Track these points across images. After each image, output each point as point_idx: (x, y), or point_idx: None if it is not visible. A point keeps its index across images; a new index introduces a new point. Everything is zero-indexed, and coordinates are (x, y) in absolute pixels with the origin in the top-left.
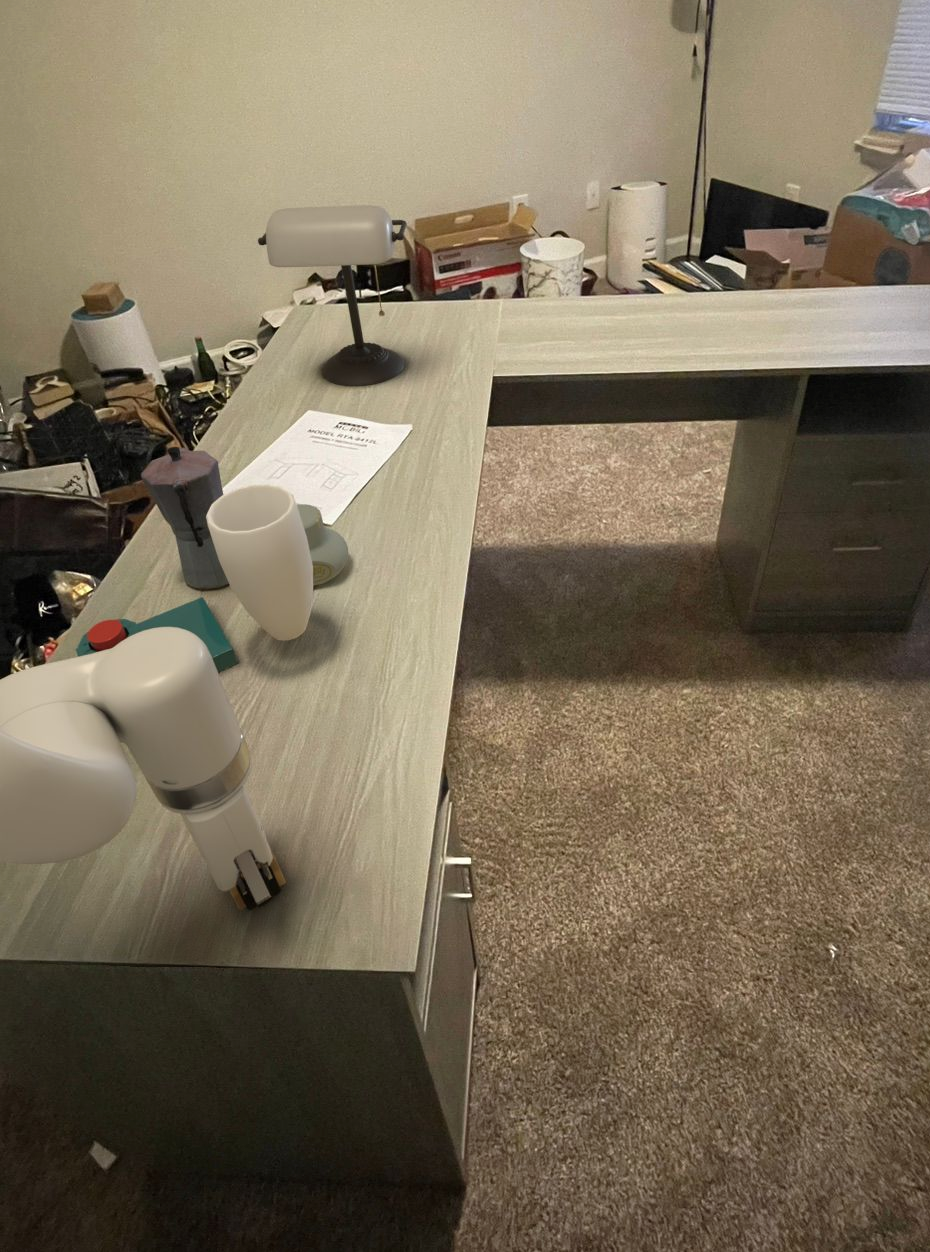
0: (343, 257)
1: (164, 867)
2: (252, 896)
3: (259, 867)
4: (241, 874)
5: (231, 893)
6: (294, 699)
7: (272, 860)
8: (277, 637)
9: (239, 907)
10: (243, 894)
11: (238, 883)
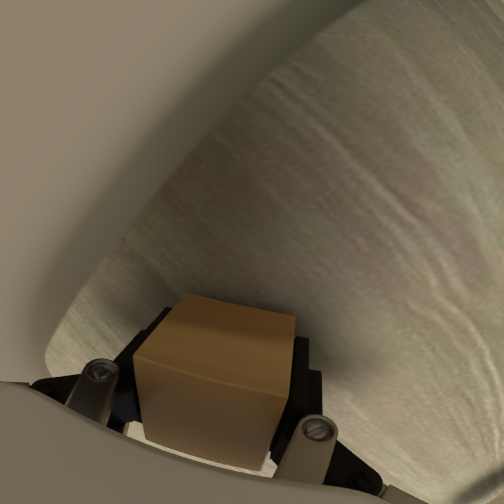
0: None
1: (429, 220)
2: (118, 355)
3: (143, 417)
4: (146, 392)
5: (152, 333)
6: (448, 477)
7: (145, 435)
8: (498, 501)
9: (181, 299)
10: (89, 363)
11: (73, 393)
